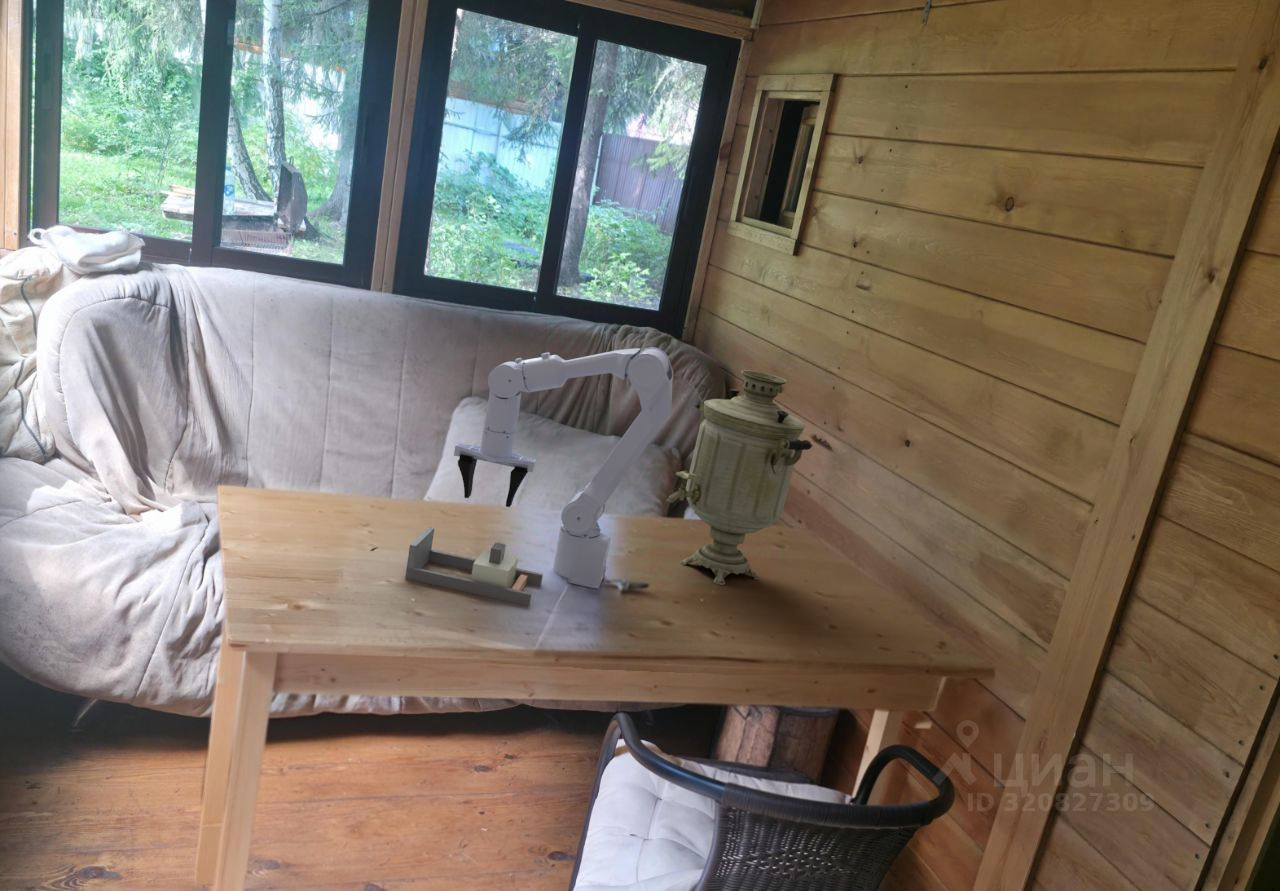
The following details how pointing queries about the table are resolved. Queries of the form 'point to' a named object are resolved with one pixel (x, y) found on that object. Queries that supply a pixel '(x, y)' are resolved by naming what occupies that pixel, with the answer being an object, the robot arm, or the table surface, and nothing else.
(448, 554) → the bay
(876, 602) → the table surface
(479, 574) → the pale green knobbed block
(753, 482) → the samovar
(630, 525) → the table surface
